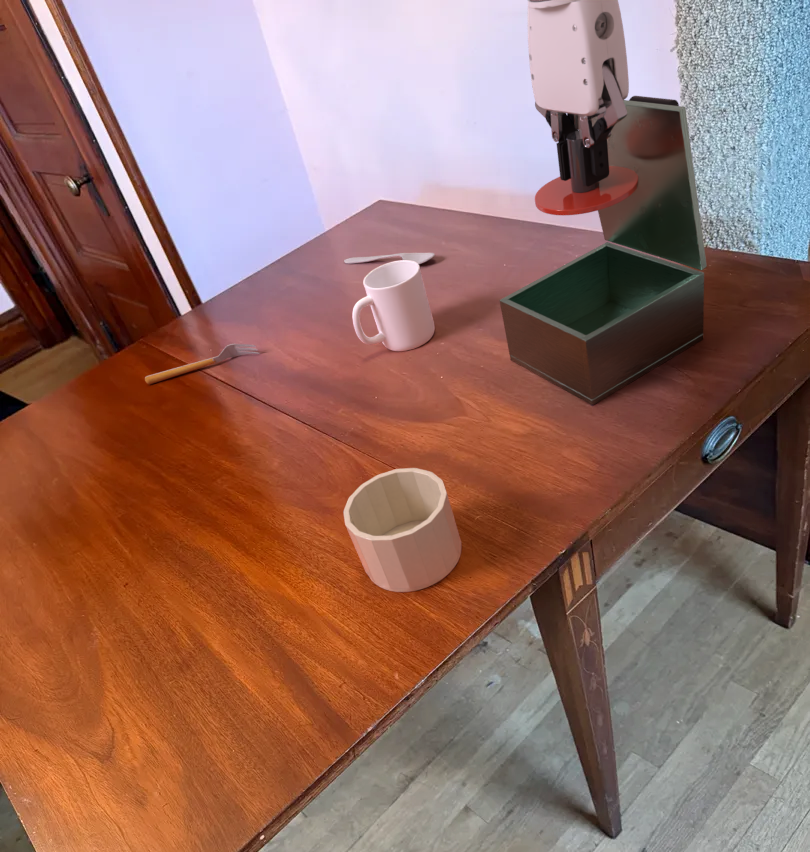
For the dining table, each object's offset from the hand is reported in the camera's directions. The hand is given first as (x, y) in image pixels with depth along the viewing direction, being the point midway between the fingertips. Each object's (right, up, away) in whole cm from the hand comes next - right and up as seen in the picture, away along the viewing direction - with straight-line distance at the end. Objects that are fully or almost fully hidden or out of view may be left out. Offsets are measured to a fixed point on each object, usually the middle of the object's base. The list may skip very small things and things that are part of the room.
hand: (584, 176), depth 82 cm
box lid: (+7, +1, +4) cm, 8 cm away
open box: (+6, -15, +15) cm, 22 cm away
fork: (-53, -12, +41) cm, 68 cm away
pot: (-19, -41, -3) cm, 46 cm away
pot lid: (0, -1, +1) cm, 2 cm away
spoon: (-23, +10, +53) cm, 58 cm away
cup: (-21, -10, +30) cm, 38 cm away
